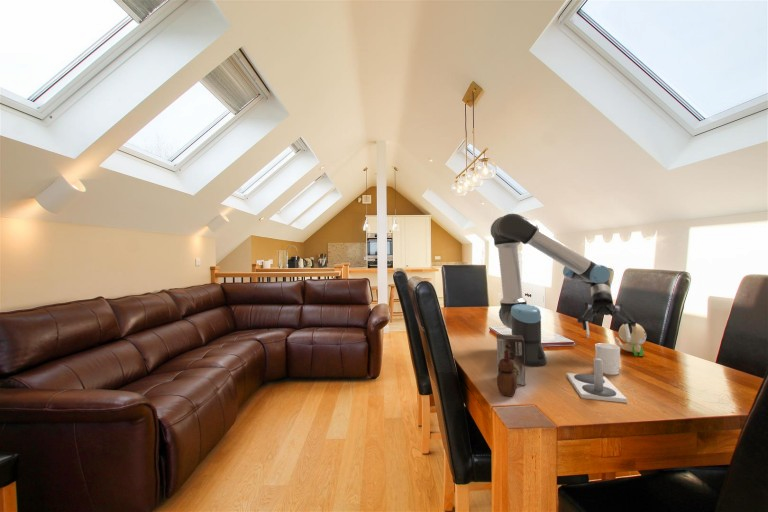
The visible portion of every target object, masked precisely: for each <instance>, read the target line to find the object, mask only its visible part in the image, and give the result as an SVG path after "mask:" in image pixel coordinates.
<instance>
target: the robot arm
mask: <svg viewBox="0 0 768 512" xmlns="http://www.w3.org/2000/svg"><path fill="white" fill-rule="evenodd" d="M490 235H491V237H492V238H493V243H494V247H496V248H497V250H498V260H499V268H500V269H499V271H500V280H501V281H500V282H501V290H502V298H501V300H500V302H499V304H500V308H499V311H498V317H499V319H500V322H502V324H503V325H504V326H505V327H506V328H508V329H511V335H522V336H523V339H524V355H525V366H526V365H527V366H528V367H541V366H544V365H546V364H547V356H546V352H545V350H544V347H543V345H542V313H541V310H540V308H538V307H537V306H535V305H530V304H528V303H527V299H525V298H524V296H523V290H522V289H523V288H522V281H521V280H522V278H521V270H520V261H519V252H518V251H519V250H518V249H519V248H518V247H519V245H520V244H521V243H522V244H524V245H527V244H528V245H529V246H531V247H533V248H535V249H536V250H538V251H539V252H541V253H542V254H545V256H548V257H549V258H551V259H553V260H554V261H555V262H557V263H559V264H561V265H562V266H563V270H562V274H563V276H564V277H566V278H569V279H570V280H574V281H576V282H580V283H582V284H585V285H588V286H589V289H590V295H591V303H592V304H589V303H587V302H585V303H584V307H583V309H582V310H581V311H580V313H579V315H578V317H577V321H576V322H577V323H580V324H582V325H581V326H582V330H583V331H586V333H585V334H586V339H590V326H589V321H591V319H593V318H594V317H595V316H597V315H600V316H603V315H605V316H611V317H613V318H614V319H616V320H618V321H619V322H620V323H621V324H622V325H623V324H624V325H625V331H626V336H627V341H628V342H630V340H631V336H630V334H632V326H636V324H637V321H636V320H635V319H634V318H633V316H632V315H631V314H630V313H629V312H628V311H627V310H626V309H625V308H624V305H623V304H621V303H620V304H619V305H616V304H614V302H613V300H614V299H613V296H612V291H611V286H610V277H611V271H610V269H609V268H608V267H607V266H605V265H603V264H597V263H595V262H593V261H592V260H590V259H588V258H587V257H585V256H583V255H581V254H580V253H578V252H577V251H575V250H574V249H572V248H570V247H569V246H567V245H566V244H564V243H563V242H560V241H559V240H557V239H555V238H554V237H552V236H551V235H549V234H547V233H546V232H545V231H543V230H541V229H540V226H539V225H538V224H537V223H534V222H533V221H531V220H529V219H528V218H526V217H524V216H523V215H520V214H517V213H508V214H506V215H503V216H499V217H498V218H496V219H495V220H494V221H493V223H492V224H491V225H490ZM590 309H592V311H591V312H589V313H588V314H587V312H588V310H590ZM617 311H618V312H617ZM586 314H587V315H586ZM527 366H526V367H527Z"/></svg>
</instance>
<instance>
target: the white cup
mask: <svg viewBox="0 0 768 512" xmlns="http://www.w3.org/2000/svg"><path fill="white" fill-rule="evenodd" d="M594 348H595V358H598V359H602V360H603V375H604V374H605V375H610V376H611V375H612V376H614V375H619V373H620V365H621V364H620V363H621V362H620V361H621V347H620V346H619V345H618V344H617V345H616V344H613V343H606V342H603V343H602V342H600V343H599V342H598V343H595V344H594Z"/></svg>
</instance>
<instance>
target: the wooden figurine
mask: <svg viewBox="0 0 768 512" xmlns="http://www.w3.org/2000/svg"><path fill="white" fill-rule="evenodd" d="M499 368H500V370H501V371H499V373H498V372H497V376H496V377H497V378H496V383H497V388H498V392H499V393H500V394H501V395H502V396H505V397H512V396H514V395H515V394H516V390H517V386H518V385H517V379H516V375H515V373H514V372H513V370H514V363H513V361H512V360H510V359H509V358H508V350H506V352H505V356H504V359H501V360H500V362H499Z"/></svg>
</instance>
